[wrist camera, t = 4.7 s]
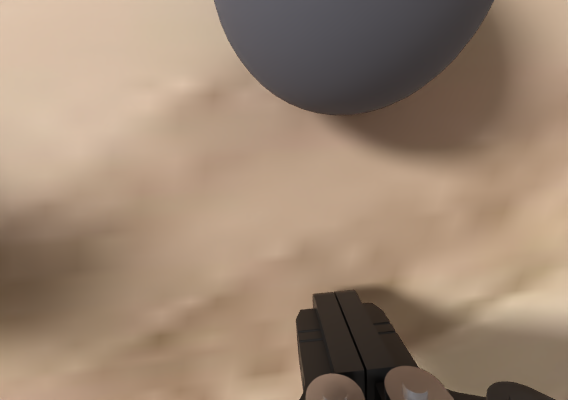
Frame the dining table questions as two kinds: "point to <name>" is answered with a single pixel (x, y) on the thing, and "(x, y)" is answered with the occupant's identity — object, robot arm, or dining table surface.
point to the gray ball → (348, 47)
